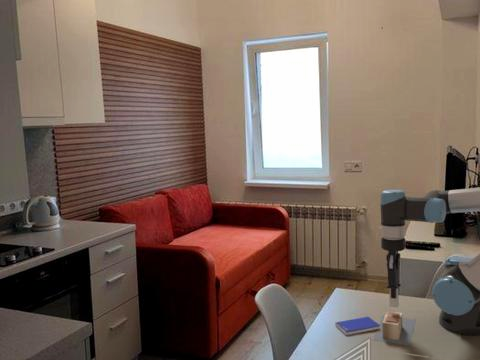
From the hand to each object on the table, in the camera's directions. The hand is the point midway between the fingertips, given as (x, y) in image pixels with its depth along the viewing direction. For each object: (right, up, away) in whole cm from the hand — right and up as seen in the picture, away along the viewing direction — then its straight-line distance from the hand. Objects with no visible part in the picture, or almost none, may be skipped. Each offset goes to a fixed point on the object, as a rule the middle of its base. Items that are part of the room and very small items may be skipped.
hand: (394, 306), depth 157 cm
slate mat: (0, -8, 0) cm, 8 cm away
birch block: (+1, -5, +2) cm, 5 cm away
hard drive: (-11, -8, +3) cm, 14 cm away
